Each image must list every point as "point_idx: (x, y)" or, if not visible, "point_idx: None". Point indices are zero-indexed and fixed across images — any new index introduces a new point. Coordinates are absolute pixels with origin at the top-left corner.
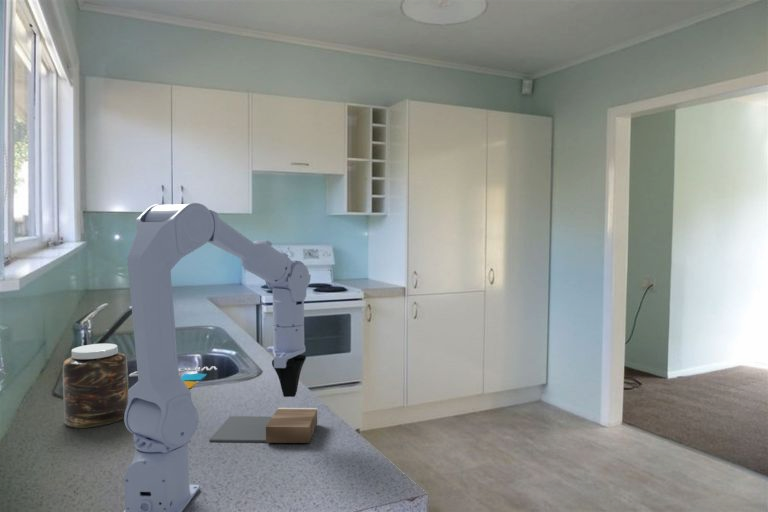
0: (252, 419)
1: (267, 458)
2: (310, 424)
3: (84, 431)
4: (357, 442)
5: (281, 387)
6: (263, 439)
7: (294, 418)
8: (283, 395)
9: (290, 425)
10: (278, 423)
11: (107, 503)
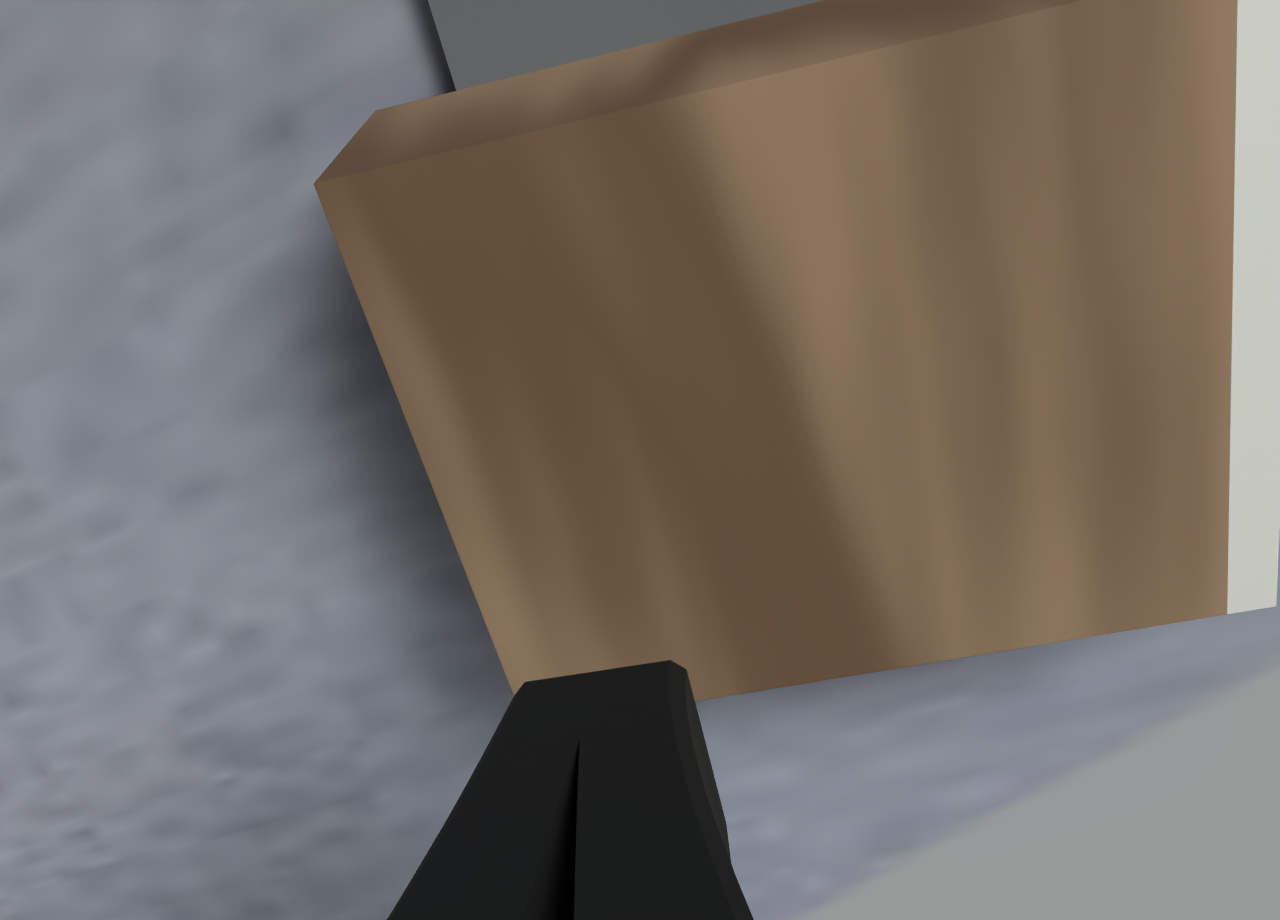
0: None
1: (56, 306)
2: None
3: None
4: None
5: (439, 836)
6: (456, 17)
7: (776, 463)
8: (523, 691)
9: (496, 514)
10: (509, 322)
11: None
